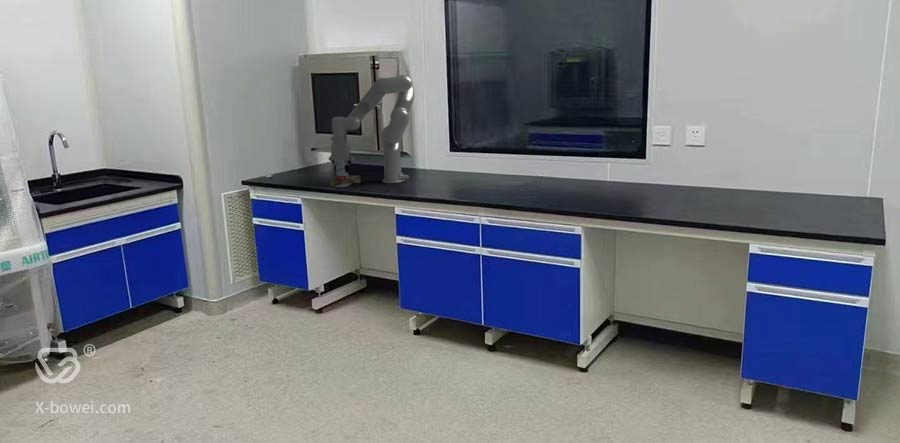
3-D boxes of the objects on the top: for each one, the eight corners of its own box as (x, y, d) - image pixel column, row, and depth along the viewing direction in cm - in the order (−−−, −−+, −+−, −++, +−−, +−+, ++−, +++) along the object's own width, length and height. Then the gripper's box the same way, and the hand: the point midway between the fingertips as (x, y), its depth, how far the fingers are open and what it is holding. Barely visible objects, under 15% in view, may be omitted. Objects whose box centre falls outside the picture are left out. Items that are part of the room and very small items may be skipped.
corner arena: (360, 182, 380) (360, 175, 379) (353, 186, 368) (353, 179, 367) (338, 182, 382) (338, 175, 381) (330, 186, 370) (330, 179, 370)
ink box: (345, 180, 369) (343, 159, 366) (336, 181, 369) (335, 159, 366) (349, 178, 377) (347, 157, 374) (340, 178, 378) (339, 157, 375)
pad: (351, 183, 378) (351, 183, 378) (345, 186, 369) (345, 186, 368) (341, 183, 379) (341, 183, 379) (334, 186, 370) (334, 186, 370)
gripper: (323, 140, 366) (325, 173, 370) (352, 140, 363) (354, 173, 367) (327, 138, 373) (330, 170, 377) (357, 138, 370) (359, 171, 374)
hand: (342, 171), depth 372 cm, fingers closed on ink box, 5 cm apart
